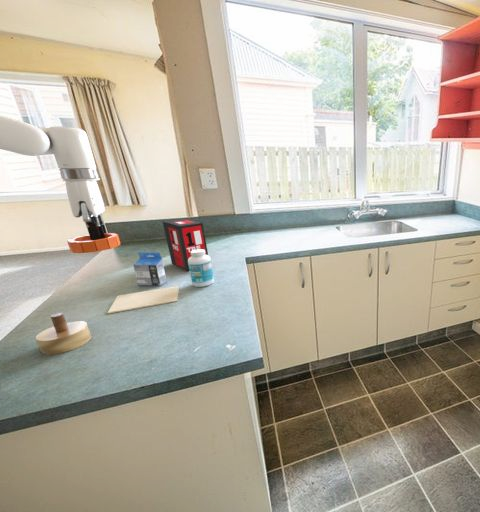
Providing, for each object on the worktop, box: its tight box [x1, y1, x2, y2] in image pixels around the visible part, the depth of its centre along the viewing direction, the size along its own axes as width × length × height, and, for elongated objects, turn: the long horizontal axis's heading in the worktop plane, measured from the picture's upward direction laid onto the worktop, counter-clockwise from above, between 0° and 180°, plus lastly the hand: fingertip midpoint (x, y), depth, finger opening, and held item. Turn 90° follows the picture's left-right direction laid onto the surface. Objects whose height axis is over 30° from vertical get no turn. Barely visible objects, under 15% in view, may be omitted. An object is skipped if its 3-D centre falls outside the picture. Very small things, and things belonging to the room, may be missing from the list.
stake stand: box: [35, 312, 92, 356], centre depth 76 cm, size 9×9×8 cm
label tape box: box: [133, 251, 168, 286], centre depth 112 cm, size 9×4×12 cm, turn 89°
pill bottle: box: [188, 249, 215, 288], centre depth 113 cm, size 8×7×14 cm
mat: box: [106, 285, 180, 315], centre depth 102 cm, size 18×14×1 cm
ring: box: [66, 232, 121, 254], centre depth 84 cm, size 10×10×3 cm
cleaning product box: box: [162, 217, 209, 272], centre depth 132 cm, size 16×9×20 cm, turn 56°
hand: (99, 238), depth 88 cm, fingers closed on ring, 1 cm apart
